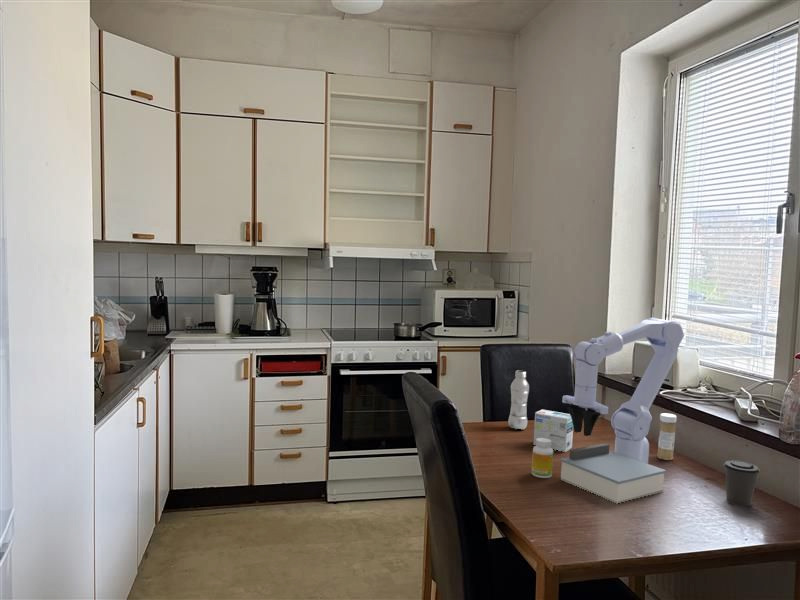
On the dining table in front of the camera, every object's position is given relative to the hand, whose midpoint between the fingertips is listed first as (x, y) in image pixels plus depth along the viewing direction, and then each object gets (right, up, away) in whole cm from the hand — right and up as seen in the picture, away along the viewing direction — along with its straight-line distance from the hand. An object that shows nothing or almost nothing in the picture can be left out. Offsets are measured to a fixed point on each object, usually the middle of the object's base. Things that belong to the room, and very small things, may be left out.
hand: (582, 433), depth 171 cm
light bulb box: (-3, -9, +22) cm, 24 cm away
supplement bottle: (-13, -10, -5) cm, 17 cm away
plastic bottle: (-10, -7, +40) cm, 42 cm away
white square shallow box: (+4, -11, -10) cm, 16 cm away
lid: (+5, -6, -11) cm, 13 cm away
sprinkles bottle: (+29, -11, +15) cm, 35 cm away
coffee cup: (+34, -13, -18) cm, 40 cm away
